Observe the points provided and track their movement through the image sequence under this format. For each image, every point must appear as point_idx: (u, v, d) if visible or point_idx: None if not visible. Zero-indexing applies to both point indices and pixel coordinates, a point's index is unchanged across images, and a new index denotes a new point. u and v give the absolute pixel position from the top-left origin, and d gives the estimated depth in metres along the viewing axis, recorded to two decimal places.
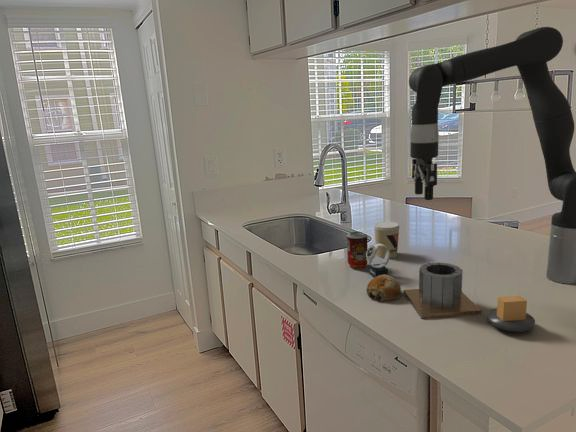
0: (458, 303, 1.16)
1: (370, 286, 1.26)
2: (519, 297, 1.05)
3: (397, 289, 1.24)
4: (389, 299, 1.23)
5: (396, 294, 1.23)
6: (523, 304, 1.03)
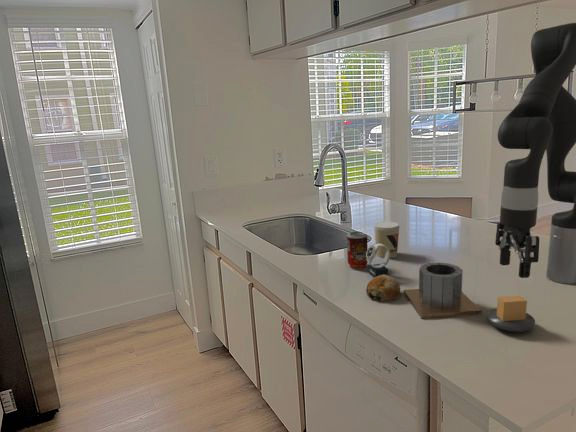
0: (458, 303, 1.16)
1: (370, 286, 1.26)
2: (519, 297, 1.05)
3: (397, 289, 1.24)
4: (389, 299, 1.23)
5: (395, 294, 1.23)
6: (523, 304, 1.03)
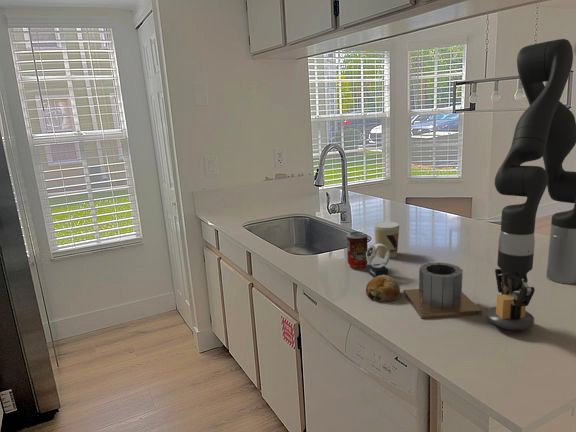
0: (458, 303, 1.16)
1: (369, 286, 1.26)
2: None
3: (397, 290, 1.24)
4: (388, 299, 1.23)
5: (395, 294, 1.23)
6: None
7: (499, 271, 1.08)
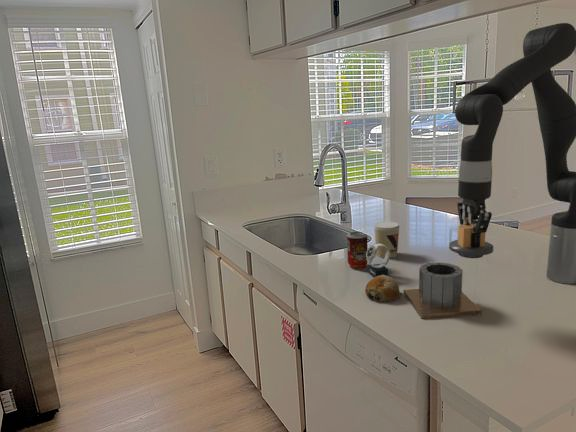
0: (458, 303, 1.16)
1: (369, 287, 1.26)
2: None
3: (396, 290, 1.24)
4: (388, 300, 1.23)
5: (395, 294, 1.23)
6: None
7: (461, 204, 1.12)
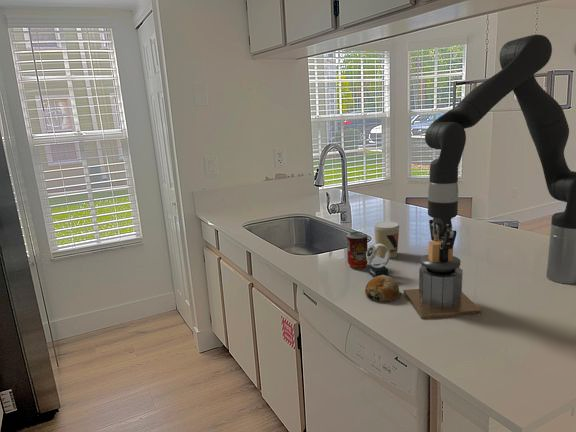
0: (458, 303, 1.16)
1: (368, 287, 1.26)
2: None
3: (396, 290, 1.24)
4: (388, 300, 1.23)
5: (394, 294, 1.23)
6: None
7: (432, 221, 1.20)
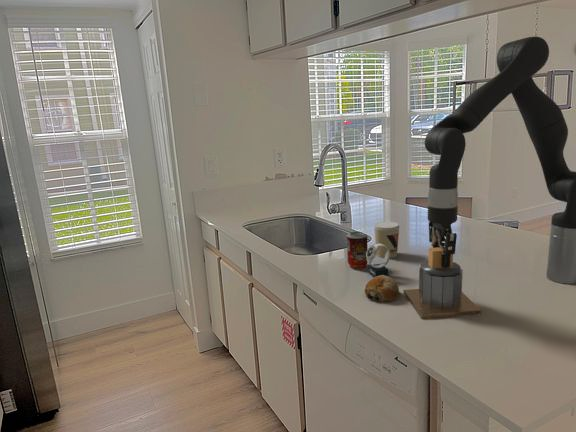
0: (458, 303, 1.16)
1: (368, 287, 1.26)
2: None
3: (396, 290, 1.23)
4: (387, 300, 1.23)
5: (394, 294, 1.23)
6: None
7: (432, 224, 1.21)
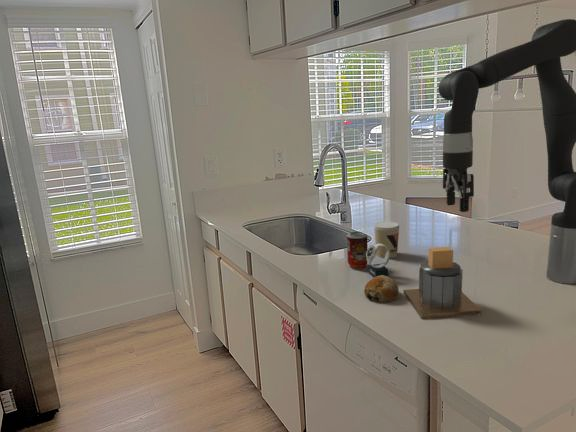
0: (458, 303, 1.16)
1: (368, 287, 1.25)
2: (447, 248, 1.17)
3: (395, 290, 1.23)
4: (387, 300, 1.23)
5: (394, 294, 1.23)
6: (449, 253, 1.15)
7: (446, 171, 1.21)
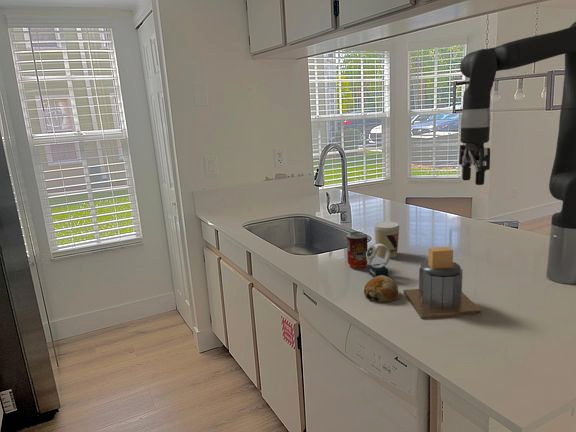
0: (458, 303, 1.16)
1: (367, 287, 1.25)
2: (447, 248, 1.17)
3: (395, 290, 1.23)
4: (386, 300, 1.23)
5: (393, 295, 1.23)
6: (449, 253, 1.15)
7: (463, 147, 1.27)
